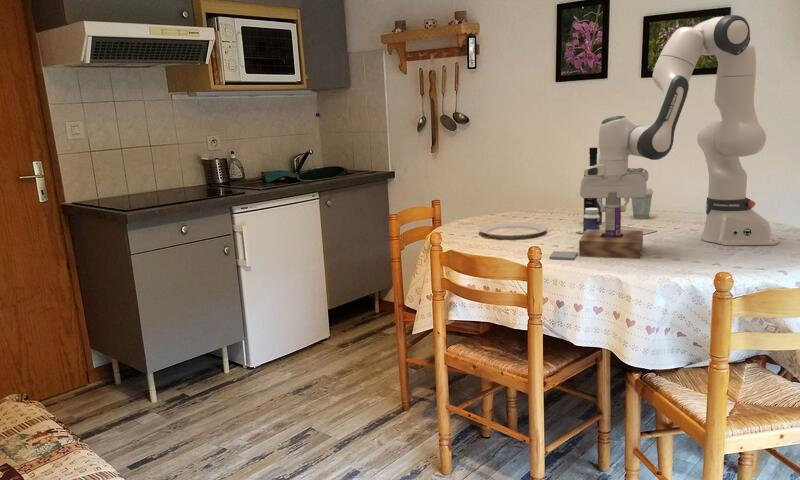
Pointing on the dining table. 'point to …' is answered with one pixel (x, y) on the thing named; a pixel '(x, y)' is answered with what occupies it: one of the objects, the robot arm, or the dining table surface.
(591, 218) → the pill bottle
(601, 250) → the socket block
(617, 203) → the container
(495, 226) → the plate
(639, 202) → the coffee cup
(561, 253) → the coaster
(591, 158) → the wine bottle
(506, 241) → the dining table surface
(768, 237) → the robot arm
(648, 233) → the dining table surface
